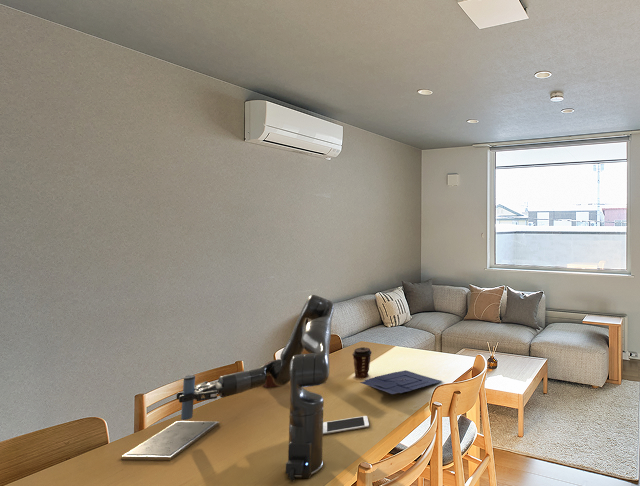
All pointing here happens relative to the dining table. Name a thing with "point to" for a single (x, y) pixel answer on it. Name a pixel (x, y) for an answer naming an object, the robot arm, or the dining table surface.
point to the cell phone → (345, 424)
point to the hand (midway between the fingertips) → (178, 397)
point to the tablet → (170, 441)
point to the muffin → (270, 381)
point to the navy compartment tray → (399, 382)
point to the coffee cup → (361, 362)
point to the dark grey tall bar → (188, 405)
